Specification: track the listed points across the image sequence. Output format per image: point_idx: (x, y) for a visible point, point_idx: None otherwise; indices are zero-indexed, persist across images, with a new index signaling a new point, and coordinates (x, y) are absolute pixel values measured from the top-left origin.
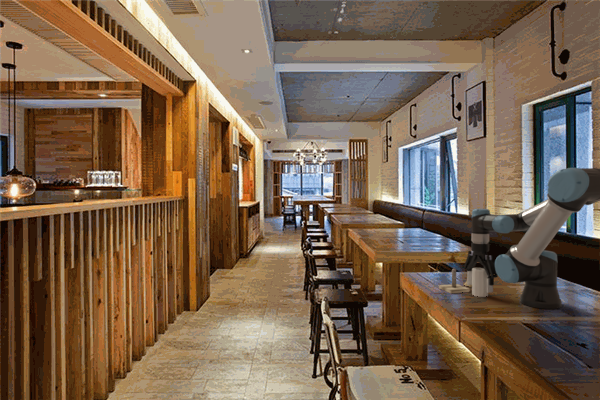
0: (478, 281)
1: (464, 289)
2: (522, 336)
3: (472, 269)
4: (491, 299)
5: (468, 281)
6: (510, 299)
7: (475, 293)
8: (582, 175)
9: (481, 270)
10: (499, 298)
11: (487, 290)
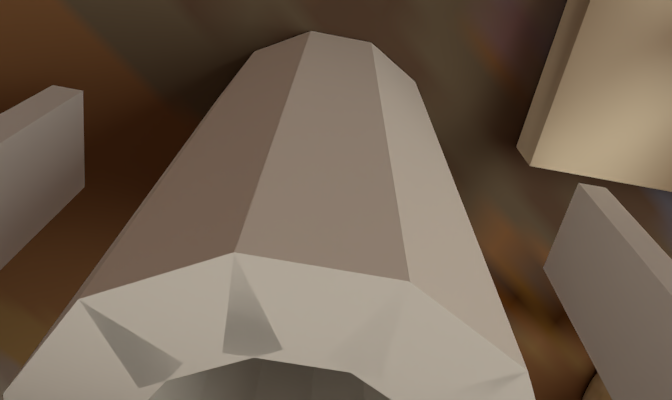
0: (206, 127)
1: (563, 68)
2: None
3: (450, 301)
4: (83, 103)
5: (601, 220)
6: (24, 298)
7: (300, 41)
8: None
9: (66, 376)
10: (96, 229)
11: (43, 97)
